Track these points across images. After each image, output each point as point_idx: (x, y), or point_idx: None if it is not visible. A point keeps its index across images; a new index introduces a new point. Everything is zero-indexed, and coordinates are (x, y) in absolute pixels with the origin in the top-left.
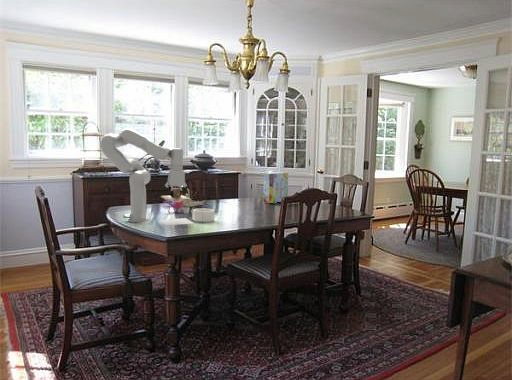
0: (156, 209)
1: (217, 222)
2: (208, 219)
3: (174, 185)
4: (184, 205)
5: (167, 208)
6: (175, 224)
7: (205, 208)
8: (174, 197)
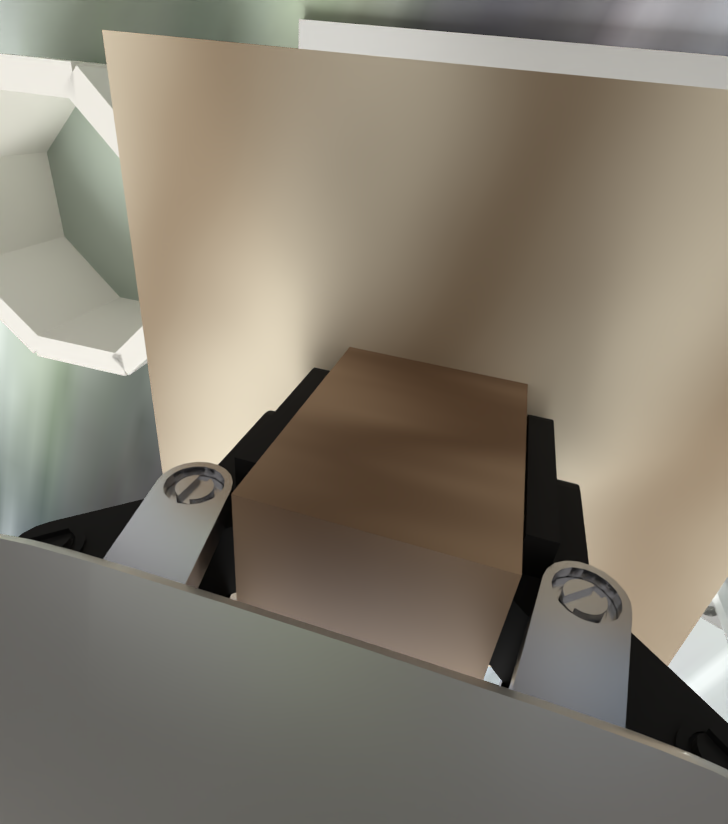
0: None
1: (6, 15)
2: (80, 61)
3: (516, 723)
4: None
5: None
6: (585, 60)
7: (18, 332)
8: (498, 381)
